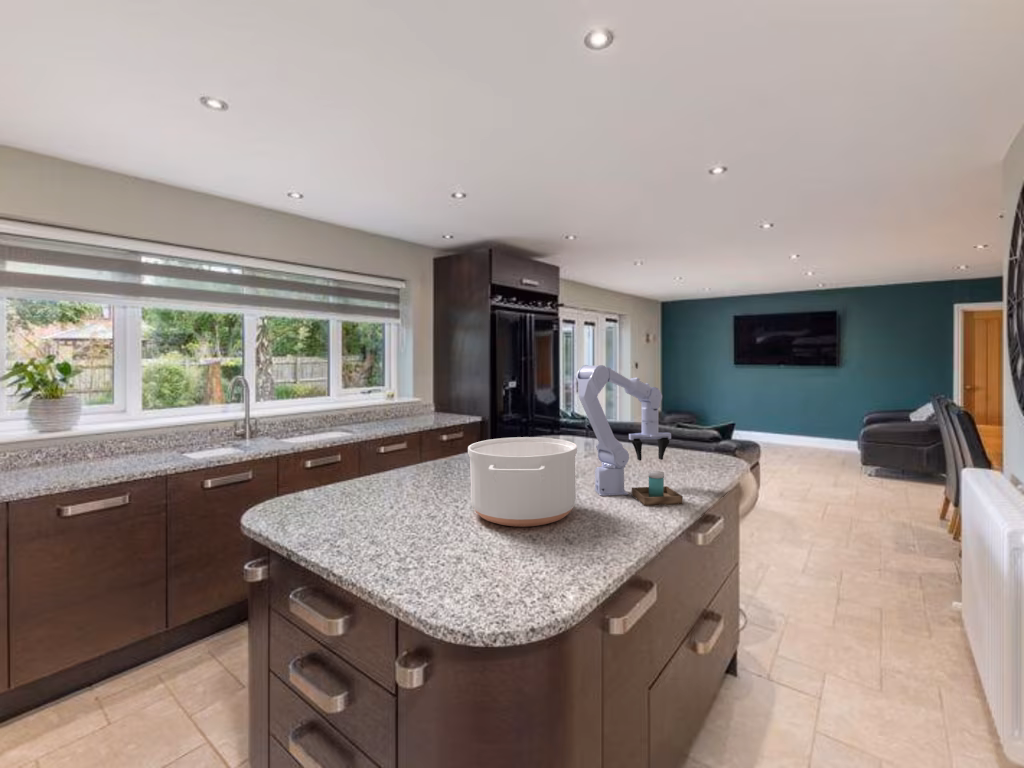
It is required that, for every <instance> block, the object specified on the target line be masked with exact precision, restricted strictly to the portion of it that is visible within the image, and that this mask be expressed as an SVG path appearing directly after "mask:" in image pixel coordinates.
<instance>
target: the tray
mask: <svg viewBox="0 0 1024 768" xmlns="http://www.w3.org/2000/svg"><path fill="white" fill-rule="evenodd" d="M631 496H632V497H633V498H634V499H636V500H637V501H638V502H639V503H640V504H642V505H643V506H644V507H650V506H653V507H655V506H670V505H671V506H673V505H675V506H677V505H684V504H683V502H684V501H683V499H684V498H683V495H681V494H680V493H678V492H677V491H675V490H673V488H670V487H669V486H667V485H664V497H649V486H641V487H640V486H639V487H637V486H636V487H631Z"/></svg>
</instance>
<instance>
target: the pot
mask: <svg viewBox="0 0 1024 768" xmlns="http://www.w3.org/2000/svg"><path fill="white" fill-rule="evenodd" d="M577 453H578V445H577V444H576V443H574V442H572V441H569V440H566V439H560V438H551V437H535V436H534V437H533V436H530V437H529V436H523V437H521V436H517V437H501V438H493V439H492V438H491V439H486V440H485V439H484V440H481V441H478V442H477V441H476V442H474V443H471V444H470V445H468V446H467V455H468V456H469V466H470V467H469V468H470V469H469V470H470V471H469V472H470V473H469V474H470V475H469V476H470V502H471V507H472V509H473V510H474V511H475V513H476V514H477V515H478V516H479V517H481V518H482V519H484V520H485V521H487V522H491V523H494V524H497V525H502V526H507V527H517V528H518V527H520V528H521V527H538V526H544V525H547V524H552V523H555V522H558V521H560V520H562V519H564V518H565V517H566V516H567V515H569V514H570V513H571V512H572V510H573V508H575V506H576V505H575V504H576V499H577V498H576V492H577V491H576V488H577V487H576V454H577Z"/></svg>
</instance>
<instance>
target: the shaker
mask: <svg viewBox="0 0 1024 768" xmlns="http://www.w3.org/2000/svg"><path fill="white" fill-rule="evenodd" d="M647 475H648V476H647V477H648V487H649V497H664V486H665V484H664V482H665V481H664V479H665V472H664V471H660V470H650V471H648V474H647Z"/></svg>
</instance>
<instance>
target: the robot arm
mask: <svg viewBox="0 0 1024 768" xmlns="http://www.w3.org/2000/svg"><path fill="white" fill-rule="evenodd" d="M575 379H576V381H577V383H578V385H577V387H578V388H577V389H578V398H579V400H580V403H581V405H582V408H583V410H584V412H585V415H586V417H587V419H588V422H589V423H590V426H591V428H592V430H593V432H594V435H595V437H596V439H597V442H598V443H597V444H596V451H597V458H598V460H599V461H600V463H601V466H596V467H595V469H594V470H595V471H594V491H595V492H596V493H597V494H599V496H602V497H603V496H605V497H606V496H627V495H629V492H628V491H626V489H625V468H626V465H628V462H629V460H630V454H629V451H628V450H627V449H625V447H624V446H623V444H622V443H621V442H620V441H619V440H618V439H617V438H616V437H615V435H614V433H613V430H612V428H611V426H610V423H609V422H608V420H607V419H608V418H607V417H606V414H605V412H604V410H603V407H602V405H601V403H600V400H599V398H598V395H599V394H600V392H601V391H602V390H603V388H604V387H605V386H606V384H607V383H611V384H613V385H617V386H619V387H621V388H623V389H624V392H625V393H626V394H628V395H629V396H631V397H634V398H636V399H637V400H638V401H639V403H641V405H640V406H641V432H635V433H628V440H630V441H631V443H632V445H633V447H634V450H635V454H636V458H637V460H638V461H642V459H643V457H642V456H643V455H642V448H643V447H642V446H643V441H642V440H657V446H658V455H657V456H658V459H659V460H661V461H662V460H664V456H665V452H666V449H667V447H668V445H669V443H670V440H671V439H672V433H671V432H659V408H660V406H661V405H660V404H661V401H662V399H663V394H662V392H661V390H660V389H659V388H658V387H655V386H650V383H648V382H646V383H645V382H642V381H641V379H640V378H639V377H631V378H627V377H626V376H624V375H623V374H621V373H619V372H617V371H615V370H614V369H612V368H611V367H608V366H605V365H603V364H600V365H587V364H584V365H581V367H579V369H578V371H577V373H576V376H575Z"/></svg>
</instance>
